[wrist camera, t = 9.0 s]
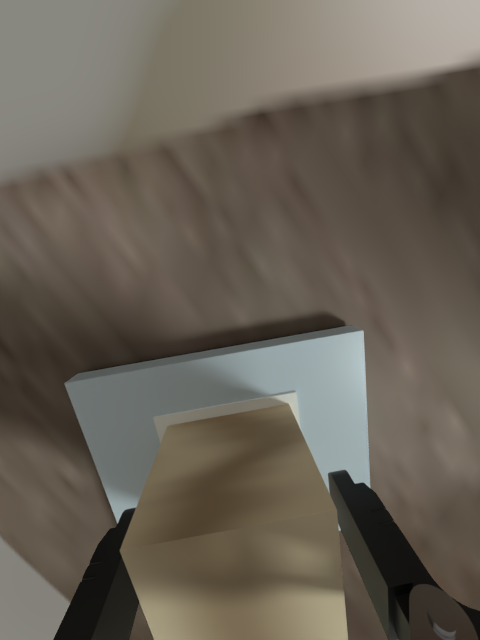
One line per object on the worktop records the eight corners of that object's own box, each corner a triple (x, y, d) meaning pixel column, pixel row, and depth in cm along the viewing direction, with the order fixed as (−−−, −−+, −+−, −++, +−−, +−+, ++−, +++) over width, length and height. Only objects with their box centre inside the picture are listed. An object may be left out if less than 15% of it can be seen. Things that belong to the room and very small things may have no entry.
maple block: (288, 403, 11) (336, 509, 6) (301, 499, 12) (348, 648, 8) (167, 425, 11) (119, 550, 6) (193, 519, 12) (171, 683, 7)
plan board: (352, 325, 12) (364, 330, 10) (361, 507, 14) (372, 526, 13) (78, 373, 11) (62, 384, 10) (141, 548, 14) (134, 571, 13)
